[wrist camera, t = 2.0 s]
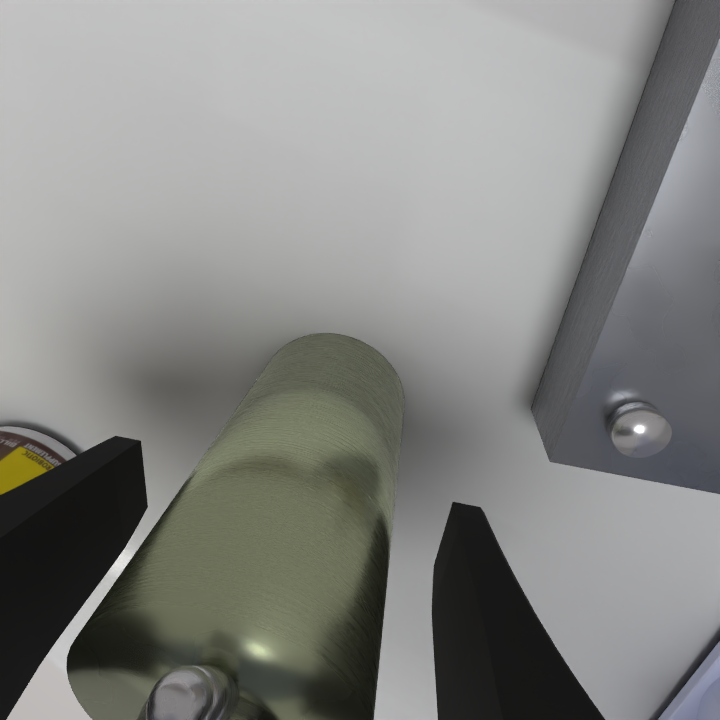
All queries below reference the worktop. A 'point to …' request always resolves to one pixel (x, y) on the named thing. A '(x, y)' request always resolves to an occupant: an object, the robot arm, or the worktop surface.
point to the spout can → (263, 558)
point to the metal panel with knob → (650, 287)
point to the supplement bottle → (27, 456)
